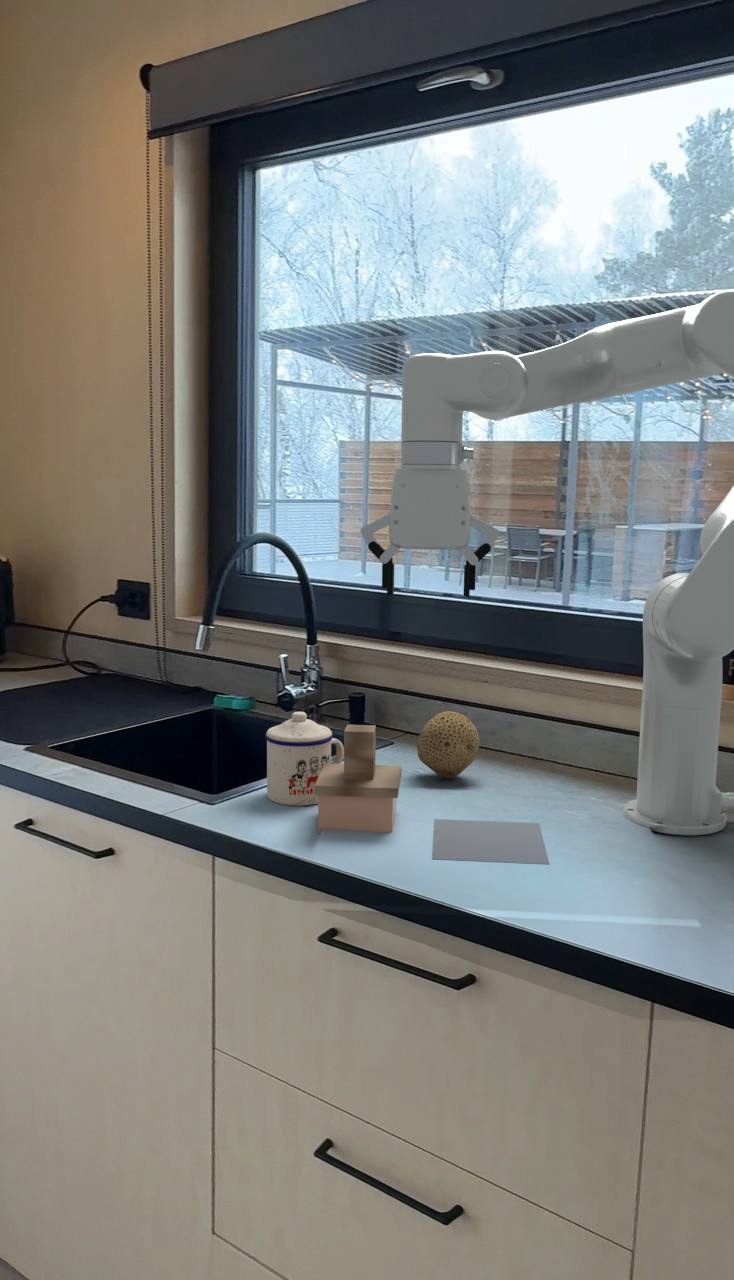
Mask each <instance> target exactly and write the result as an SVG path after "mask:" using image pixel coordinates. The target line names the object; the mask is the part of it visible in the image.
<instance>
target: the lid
mask: <svg viewBox="0 0 734 1280" xmlns="http://www.w3.org/2000/svg"><path fill="white" fill-rule="evenodd" d="M376 729H377V726H376V725H374V724H373V725H372V724H370V725H369V724H368V725H367V724H346V727H345V728H344V733H343V738H344V739H343V747H344V756H343V763H341V764H332V762H331V763H324V766H323V768H322V770H321V772H320V775H319V777H318V779H317V781H316V783H315V792H314V795H322V796H350V797H377V798H397V799H398V798H399V791H400V786H401V780H402V772H403V771H402V768H403V767H402V765H388V764H387V765H386V764H384V765H383V764H376V745H377V744H376V741H377V739H376V736H377V735H376V732H377V730H376Z"/></svg>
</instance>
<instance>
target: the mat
mask: <svg viewBox="0 0 734 1280" xmlns="http://www.w3.org/2000/svg"><path fill="white" fill-rule="evenodd" d="M433 824H434V825H433V840H432V852H431V853H432V857H431V860H436V861H457V862H458V861H460V862H461V861H462V862H482V863H507V864H529V865H532V864H533V865H548V866H549V865H550V861H549V858H548V853H547V850H546V849H547V848H546V846H545V841H544V838H543V833H542V830H541V826H540V823H539V822H520V821H519V822H518V821H497V820H495V821H494V820H491V821H490V820H470V819H469V820H468V819H467V820H466V819H445V818H444V819H442V818H434V821H433Z"/></svg>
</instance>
